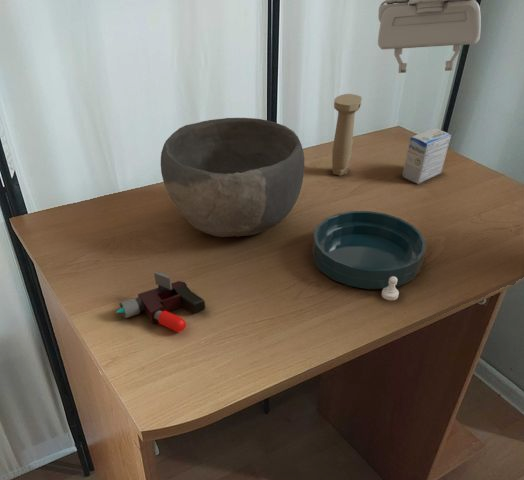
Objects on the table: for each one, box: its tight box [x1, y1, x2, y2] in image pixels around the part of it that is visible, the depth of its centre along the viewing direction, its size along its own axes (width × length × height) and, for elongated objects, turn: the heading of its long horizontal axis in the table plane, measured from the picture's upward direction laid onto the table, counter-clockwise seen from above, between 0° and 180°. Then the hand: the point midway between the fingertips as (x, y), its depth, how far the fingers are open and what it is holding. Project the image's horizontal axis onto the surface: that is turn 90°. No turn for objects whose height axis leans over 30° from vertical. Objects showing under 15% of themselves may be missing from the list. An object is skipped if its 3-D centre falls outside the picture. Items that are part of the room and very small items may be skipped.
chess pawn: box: [381, 276, 400, 301], centre depth 82 cm, size 3×3×4 cm
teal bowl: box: [311, 210, 427, 290], centre depth 89 cm, size 18×18×4 cm
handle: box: [331, 93, 363, 177], centre depth 109 cm, size 5×6×15 cm
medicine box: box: [402, 127, 452, 185], centre depth 111 cm, size 8×4×9 cm, turn 130°
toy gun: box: [115, 271, 206, 333], centre depth 77 cm, size 10×12×5 cm
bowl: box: [160, 117, 305, 238], centre depth 94 cm, size 24×24×15 cm
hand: (425, 71), depth 113 cm, fingers open, 8 cm apart
